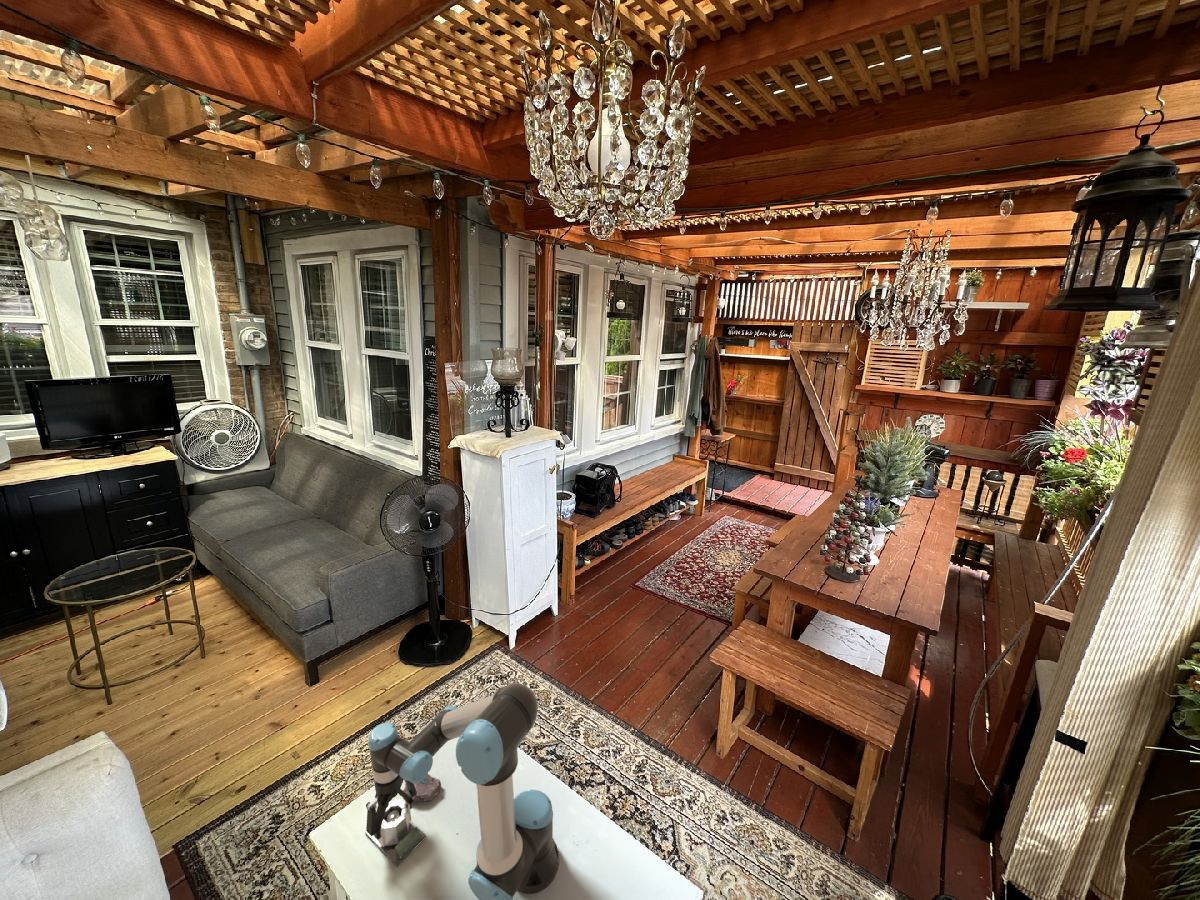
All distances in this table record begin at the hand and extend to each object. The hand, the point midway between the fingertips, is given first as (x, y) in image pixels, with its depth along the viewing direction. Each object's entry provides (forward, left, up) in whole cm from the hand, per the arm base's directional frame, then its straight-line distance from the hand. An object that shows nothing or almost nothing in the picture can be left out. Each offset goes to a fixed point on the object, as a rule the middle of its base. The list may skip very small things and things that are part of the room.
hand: (395, 830), depth 144 cm
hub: (0, 0, 0) cm, 0 cm away
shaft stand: (0, 0, -2) cm, 2 cm away
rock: (+5, -13, -3) cm, 14 cm away
